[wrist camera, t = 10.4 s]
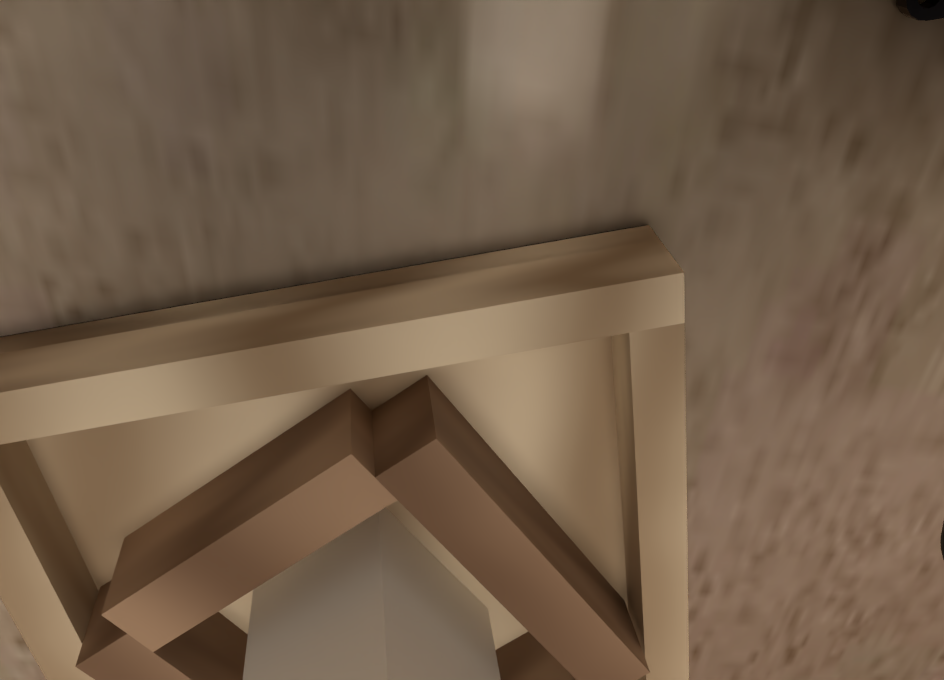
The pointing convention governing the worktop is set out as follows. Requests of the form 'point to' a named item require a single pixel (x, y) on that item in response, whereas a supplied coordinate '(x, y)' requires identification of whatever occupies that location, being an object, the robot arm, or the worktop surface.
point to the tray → (376, 330)
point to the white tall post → (369, 614)
